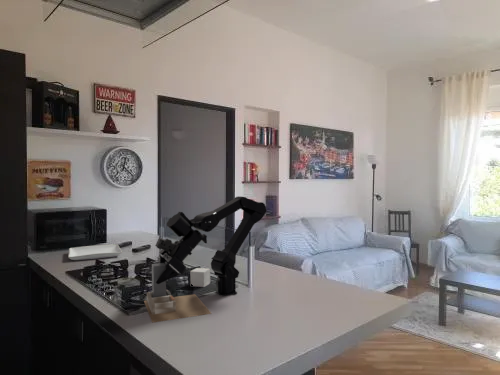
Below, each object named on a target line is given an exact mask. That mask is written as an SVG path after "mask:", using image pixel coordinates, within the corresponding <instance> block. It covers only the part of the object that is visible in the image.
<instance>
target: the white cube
mask: <svg viewBox="0 0 500 375" xmlns="http://www.w3.org/2000/svg"><path fill="white" fill-rule="evenodd" d="M191 284H192V285H193V286H192V287H198V288H199V287H201V288H205V287H206V286H208V285H210V284H211V268H204V267H196V268H194V269H192V270H190V285H191Z"/></svg>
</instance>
